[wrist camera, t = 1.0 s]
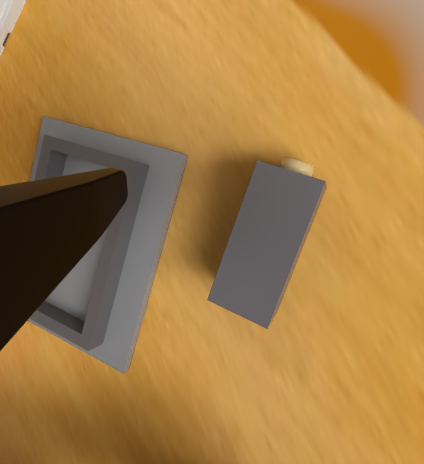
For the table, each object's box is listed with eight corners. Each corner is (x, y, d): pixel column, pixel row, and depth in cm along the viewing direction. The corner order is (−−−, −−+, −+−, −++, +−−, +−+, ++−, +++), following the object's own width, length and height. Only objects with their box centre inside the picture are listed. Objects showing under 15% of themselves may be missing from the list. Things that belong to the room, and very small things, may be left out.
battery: (277, 310, 23) (267, 328, 19) (226, 287, 24) (207, 299, 20) (330, 176, 21) (331, 167, 17) (273, 159, 22) (262, 146, 19)
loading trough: (128, 369, 27) (109, 383, 24) (10, 304, 31) (-16, 311, 29) (187, 155, 24) (172, 148, 22) (50, 118, 29) (25, 109, 26)
